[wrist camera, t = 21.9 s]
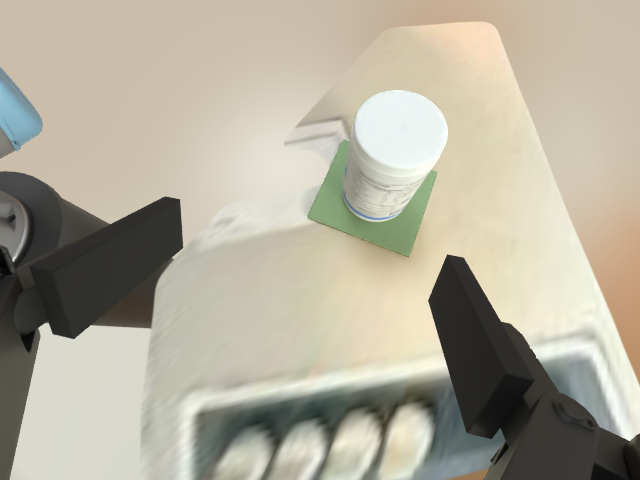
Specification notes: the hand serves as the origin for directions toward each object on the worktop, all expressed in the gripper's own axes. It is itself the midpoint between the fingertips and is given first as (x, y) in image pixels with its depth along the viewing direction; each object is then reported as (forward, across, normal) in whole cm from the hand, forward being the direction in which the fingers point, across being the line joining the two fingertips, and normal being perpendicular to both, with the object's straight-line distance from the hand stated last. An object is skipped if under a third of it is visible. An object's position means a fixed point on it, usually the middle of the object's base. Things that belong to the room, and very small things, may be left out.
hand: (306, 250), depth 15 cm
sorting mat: (+30, +5, -6) cm, 31 cm away
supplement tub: (+30, +5, -6) cm, 31 cm away
